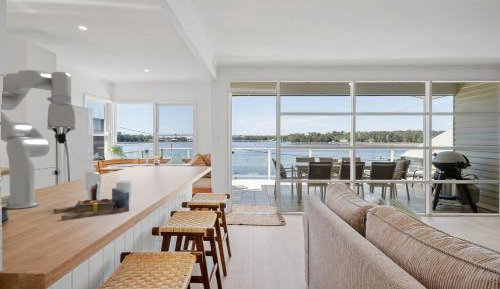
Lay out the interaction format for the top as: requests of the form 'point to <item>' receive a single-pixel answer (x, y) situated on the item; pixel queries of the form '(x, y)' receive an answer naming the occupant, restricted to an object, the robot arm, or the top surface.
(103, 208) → the decorative book
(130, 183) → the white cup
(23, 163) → the robot arm
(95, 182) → the beer glass
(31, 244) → the top surface
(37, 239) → the top surface
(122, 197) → the guide rails
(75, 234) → the top surface
